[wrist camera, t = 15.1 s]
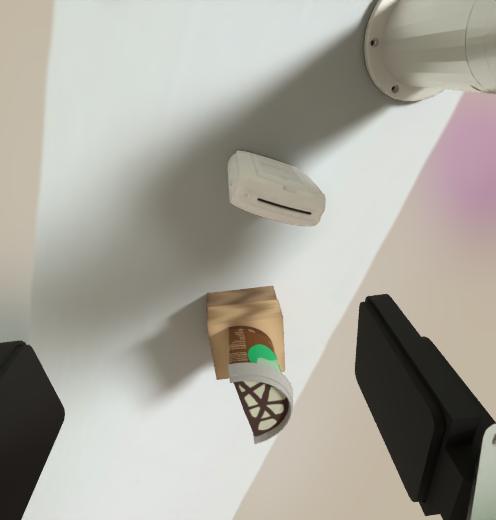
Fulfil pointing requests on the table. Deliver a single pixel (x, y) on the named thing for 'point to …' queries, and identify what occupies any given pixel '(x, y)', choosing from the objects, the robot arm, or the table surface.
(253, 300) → the tan cardboard flat block
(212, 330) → the oak slab
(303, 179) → the photo printer
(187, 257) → the table surface
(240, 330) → the food container
